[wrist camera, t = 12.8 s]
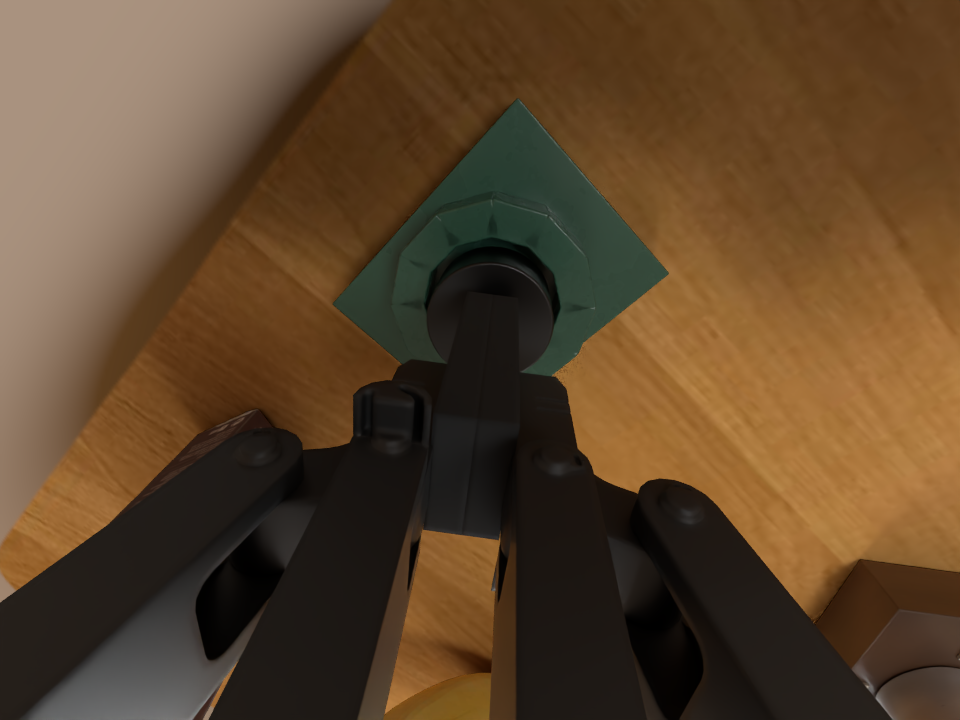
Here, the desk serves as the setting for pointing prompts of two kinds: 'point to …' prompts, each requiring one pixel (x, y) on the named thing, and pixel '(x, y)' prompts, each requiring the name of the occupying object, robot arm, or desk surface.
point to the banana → (448, 701)
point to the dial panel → (894, 621)
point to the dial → (923, 695)
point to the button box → (507, 244)
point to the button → (493, 276)
